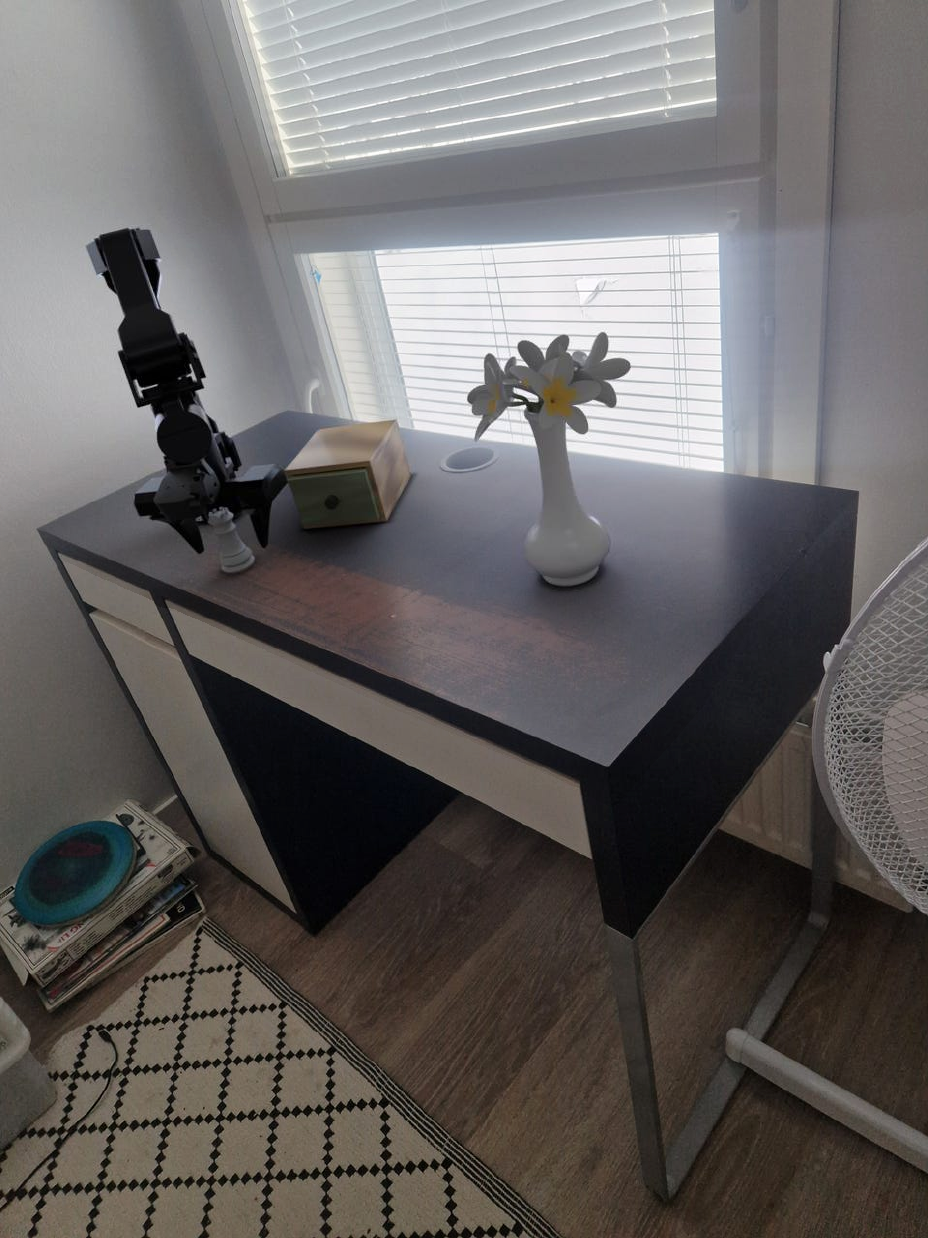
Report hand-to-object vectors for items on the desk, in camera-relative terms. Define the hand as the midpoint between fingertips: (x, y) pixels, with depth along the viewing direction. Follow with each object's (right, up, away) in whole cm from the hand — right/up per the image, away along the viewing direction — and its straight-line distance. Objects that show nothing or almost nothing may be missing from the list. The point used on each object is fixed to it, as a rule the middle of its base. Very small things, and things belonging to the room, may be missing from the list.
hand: (233, 549), depth 110 cm
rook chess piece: (+1, -2, +1) cm, 3 cm away
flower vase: (+42, -4, -16) cm, 45 cm away
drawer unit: (+15, +8, +11) cm, 20 cm away
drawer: (+14, +7, +9) cm, 18 cm away
